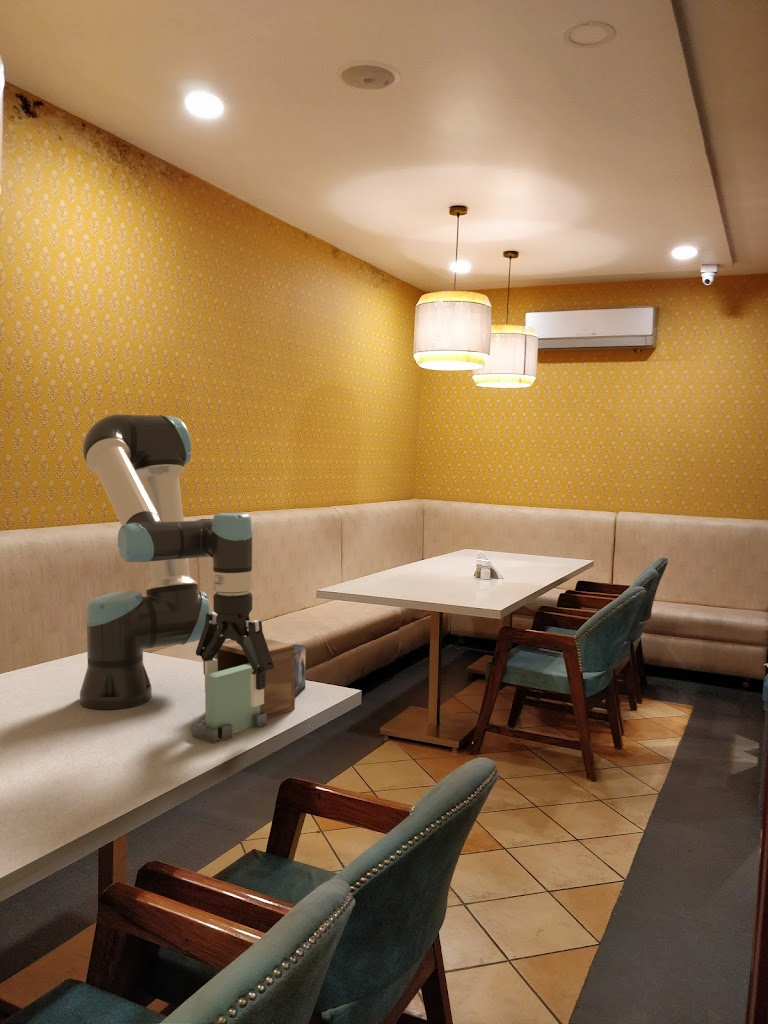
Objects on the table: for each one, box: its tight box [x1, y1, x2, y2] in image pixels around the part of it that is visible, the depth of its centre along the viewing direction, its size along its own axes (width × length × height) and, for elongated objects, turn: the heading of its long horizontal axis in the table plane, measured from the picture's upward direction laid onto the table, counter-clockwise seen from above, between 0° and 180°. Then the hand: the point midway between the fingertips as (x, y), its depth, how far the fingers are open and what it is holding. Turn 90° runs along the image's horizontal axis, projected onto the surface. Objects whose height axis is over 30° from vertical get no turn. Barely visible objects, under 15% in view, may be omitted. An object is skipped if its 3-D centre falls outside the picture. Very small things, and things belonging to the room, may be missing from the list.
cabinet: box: [214, 635, 296, 720], centre depth 173 cm, size 14×10×14 cm
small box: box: [292, 643, 307, 698], centre depth 184 cm, size 11×6×10 cm, turn 168°
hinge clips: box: [191, 712, 268, 745], centre depth 160 cm, size 6×14×2 cm, turn 142°
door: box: [204, 663, 260, 734], centre depth 160 cm, size 3×12×12 cm, turn 142°
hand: (233, 698), depth 160 cm, fingers open, 13 cm apart
